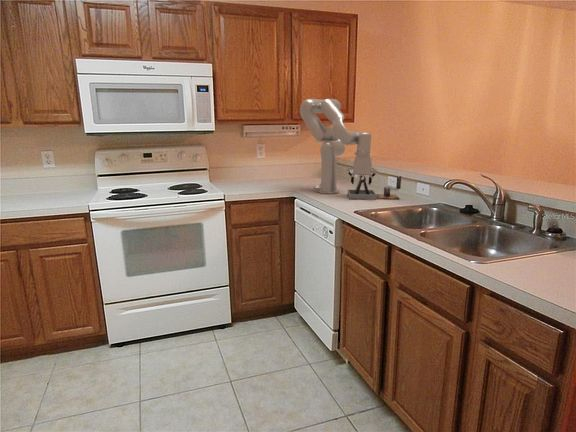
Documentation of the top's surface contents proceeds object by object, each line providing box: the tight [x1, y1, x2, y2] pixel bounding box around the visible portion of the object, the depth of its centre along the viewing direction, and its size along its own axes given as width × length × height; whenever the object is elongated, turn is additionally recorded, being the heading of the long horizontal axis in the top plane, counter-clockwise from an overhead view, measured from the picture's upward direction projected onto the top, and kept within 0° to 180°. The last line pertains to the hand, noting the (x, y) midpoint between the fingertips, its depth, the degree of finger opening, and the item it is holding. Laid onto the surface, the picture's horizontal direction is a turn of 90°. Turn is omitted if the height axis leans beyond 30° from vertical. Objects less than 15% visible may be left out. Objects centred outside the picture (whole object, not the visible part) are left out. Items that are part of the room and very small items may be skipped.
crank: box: [383, 175, 402, 196], centre depth 224 cm, size 10×4×12 cm, turn 55°
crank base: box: [376, 193, 400, 201], centre depth 227 cm, size 12×12×1 cm
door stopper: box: [354, 175, 369, 194], centre depth 227 cm, size 9×6×12 cm, turn 85°
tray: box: [347, 189, 378, 201], centre depth 228 cm, size 15×16×3 cm
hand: (361, 184), depth 227 cm, fingers open, 9 cm apart
